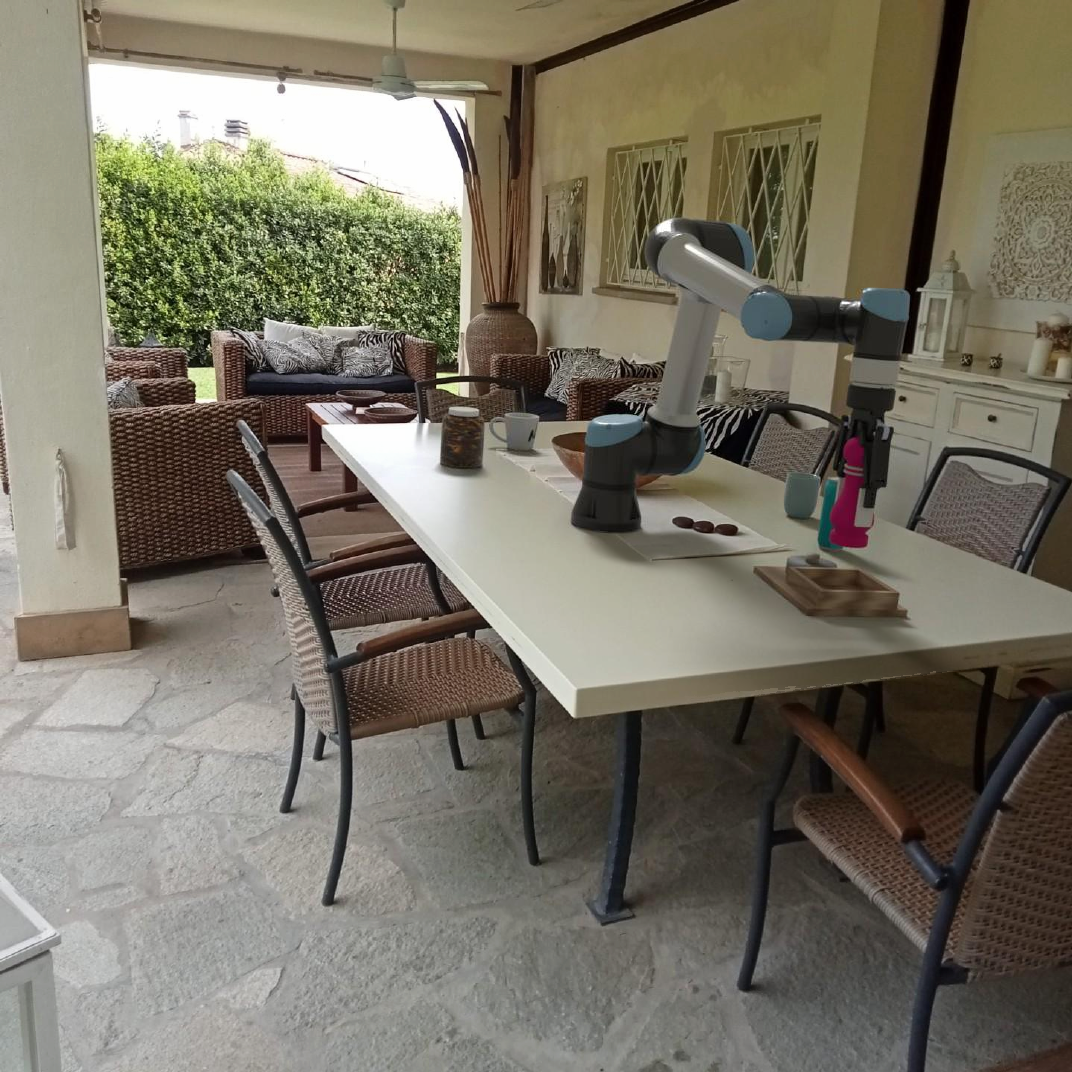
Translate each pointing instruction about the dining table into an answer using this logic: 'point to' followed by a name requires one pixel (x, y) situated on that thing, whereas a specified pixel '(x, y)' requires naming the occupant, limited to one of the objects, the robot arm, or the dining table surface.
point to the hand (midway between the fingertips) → (851, 520)
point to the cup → (801, 494)
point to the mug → (518, 430)
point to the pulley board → (831, 588)
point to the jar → (462, 438)
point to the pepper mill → (849, 501)
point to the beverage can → (828, 516)
